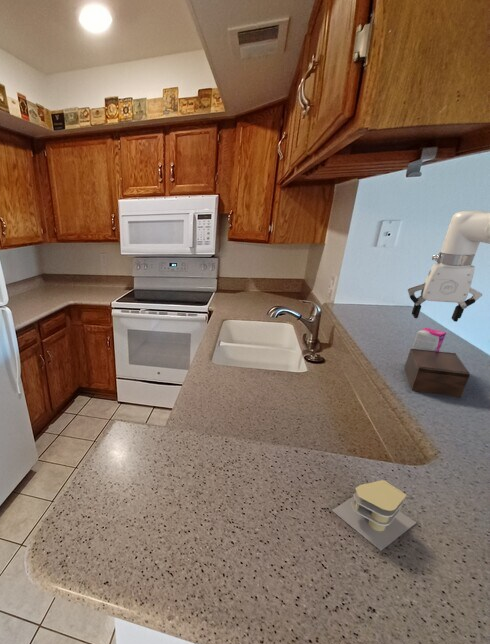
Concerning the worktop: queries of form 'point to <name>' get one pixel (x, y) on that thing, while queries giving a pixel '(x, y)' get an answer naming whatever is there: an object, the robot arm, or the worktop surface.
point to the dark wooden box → (436, 372)
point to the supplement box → (429, 340)
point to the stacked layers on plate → (376, 513)
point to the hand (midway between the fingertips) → (434, 318)
